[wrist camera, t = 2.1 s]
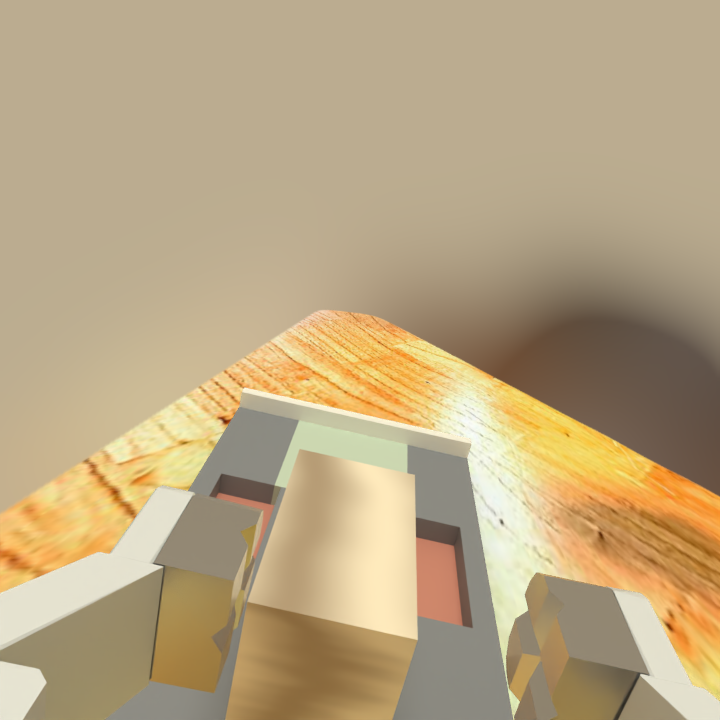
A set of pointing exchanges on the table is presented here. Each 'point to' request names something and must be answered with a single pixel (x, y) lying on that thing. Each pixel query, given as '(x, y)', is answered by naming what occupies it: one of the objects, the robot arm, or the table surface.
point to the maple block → (331, 598)
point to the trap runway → (433, 552)
